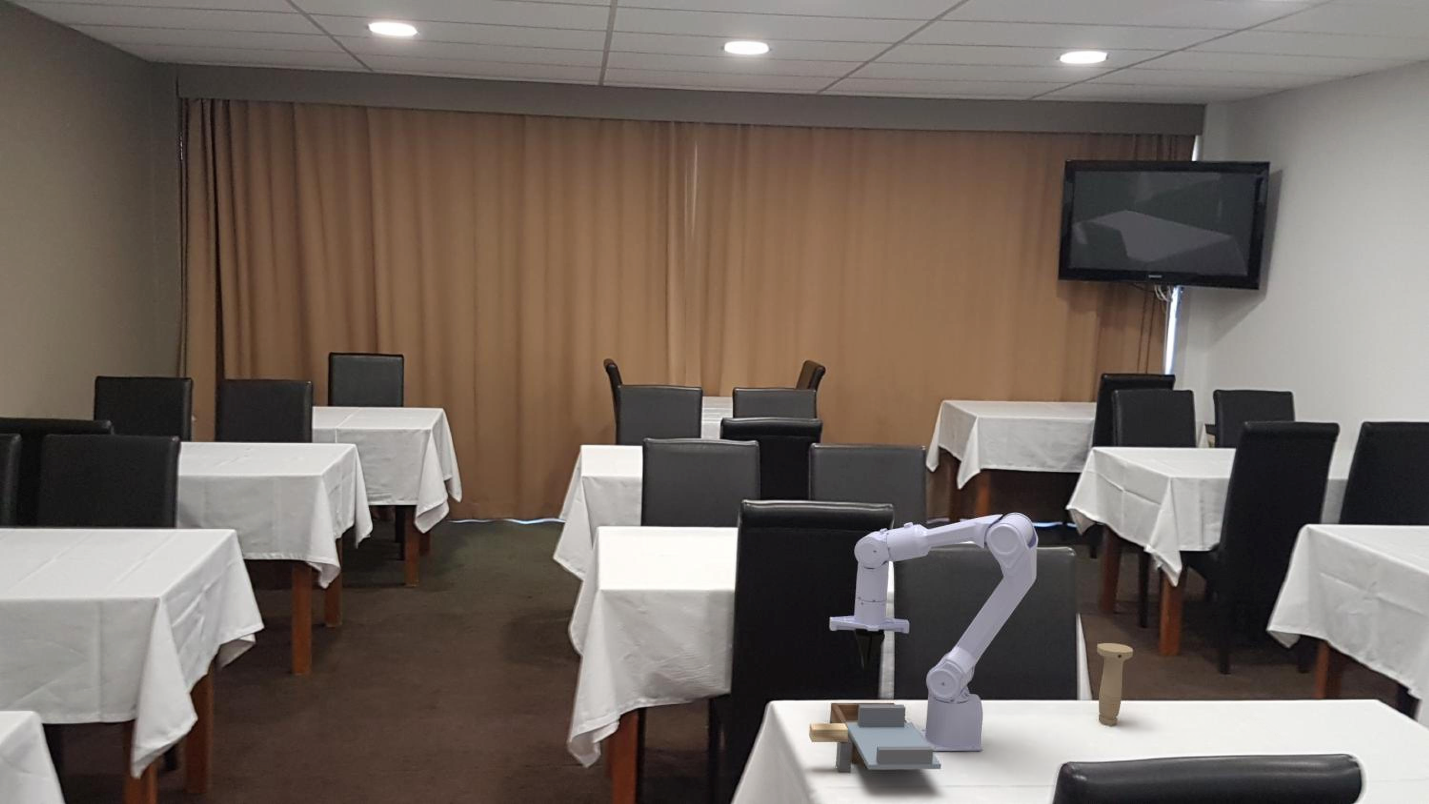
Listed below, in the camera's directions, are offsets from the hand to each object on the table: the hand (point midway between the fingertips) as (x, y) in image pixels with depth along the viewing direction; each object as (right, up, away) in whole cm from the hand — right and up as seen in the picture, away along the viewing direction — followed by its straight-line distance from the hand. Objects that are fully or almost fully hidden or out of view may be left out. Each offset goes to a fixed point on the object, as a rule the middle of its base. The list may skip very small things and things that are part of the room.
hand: (866, 667), depth 201 cm
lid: (+1, -9, -19) cm, 21 cm away
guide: (-7, -13, -19) cm, 23 cm away
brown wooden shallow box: (0, -12, -8) cm, 14 cm away
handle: (+47, -12, +6) cm, 49 cm away
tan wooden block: (-9, -7, -20) cm, 23 cm away
